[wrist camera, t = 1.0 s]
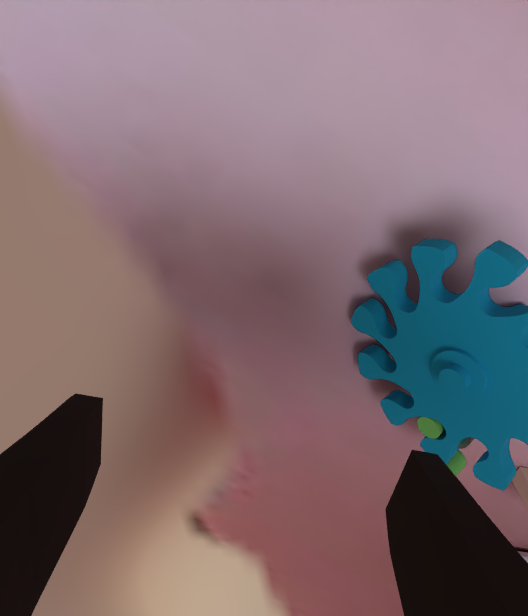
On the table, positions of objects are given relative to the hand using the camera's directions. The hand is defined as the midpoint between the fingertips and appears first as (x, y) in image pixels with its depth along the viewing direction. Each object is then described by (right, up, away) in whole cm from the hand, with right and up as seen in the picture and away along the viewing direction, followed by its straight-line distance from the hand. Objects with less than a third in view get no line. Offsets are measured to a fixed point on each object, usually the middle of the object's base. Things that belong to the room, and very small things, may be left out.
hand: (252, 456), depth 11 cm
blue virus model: (+8, +3, +10) cm, 13 cm away
